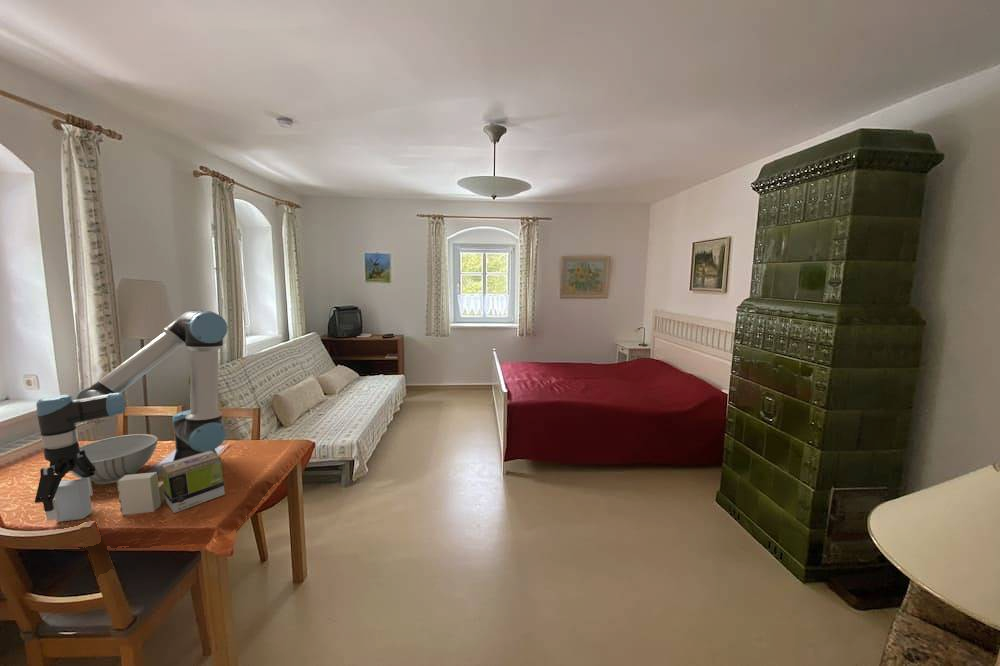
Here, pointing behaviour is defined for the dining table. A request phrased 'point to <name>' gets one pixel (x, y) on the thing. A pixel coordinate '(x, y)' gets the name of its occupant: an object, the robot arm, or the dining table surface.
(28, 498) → the dining table surface
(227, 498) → the dining table surface
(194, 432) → the robot arm
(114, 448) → the decorative bowl
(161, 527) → the dining table surface
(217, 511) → the dining table surface
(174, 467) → the tea box
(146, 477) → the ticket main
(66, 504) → the stub
